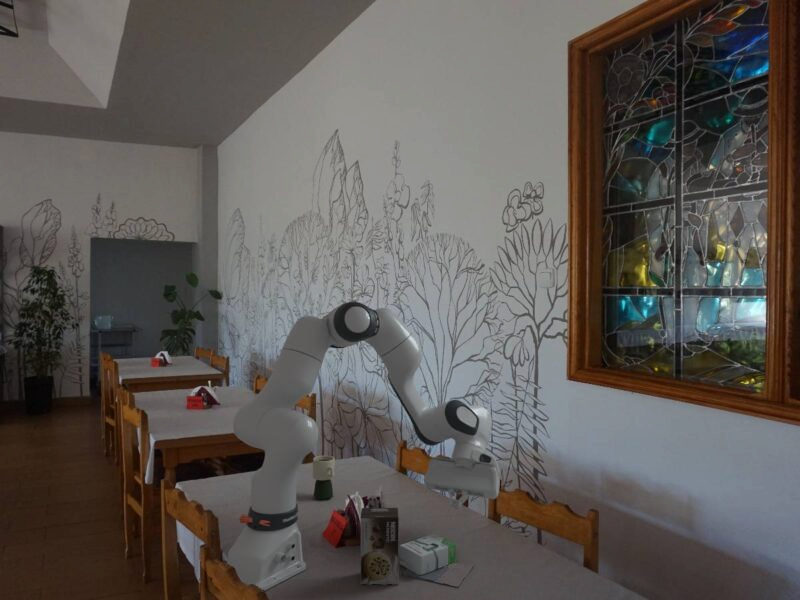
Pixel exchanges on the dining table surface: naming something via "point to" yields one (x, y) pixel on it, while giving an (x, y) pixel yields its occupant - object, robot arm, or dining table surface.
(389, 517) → the coffee box
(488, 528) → the dining table surface
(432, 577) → the felt mat
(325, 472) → the character mug
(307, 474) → the dining table surface
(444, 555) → the ink box
